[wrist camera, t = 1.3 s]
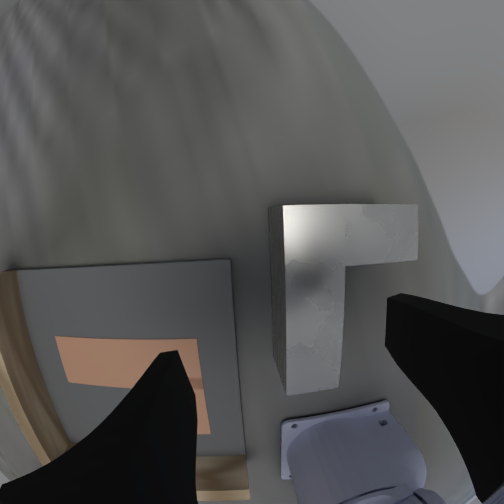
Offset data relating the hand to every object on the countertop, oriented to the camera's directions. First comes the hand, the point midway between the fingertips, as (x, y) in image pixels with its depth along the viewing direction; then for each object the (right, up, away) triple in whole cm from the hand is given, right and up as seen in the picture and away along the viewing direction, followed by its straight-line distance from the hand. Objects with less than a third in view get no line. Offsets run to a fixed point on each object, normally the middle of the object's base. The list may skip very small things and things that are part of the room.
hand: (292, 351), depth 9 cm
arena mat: (-11, -7, +10) cm, 16 cm away
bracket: (+4, +1, +10) cm, 11 cm away
